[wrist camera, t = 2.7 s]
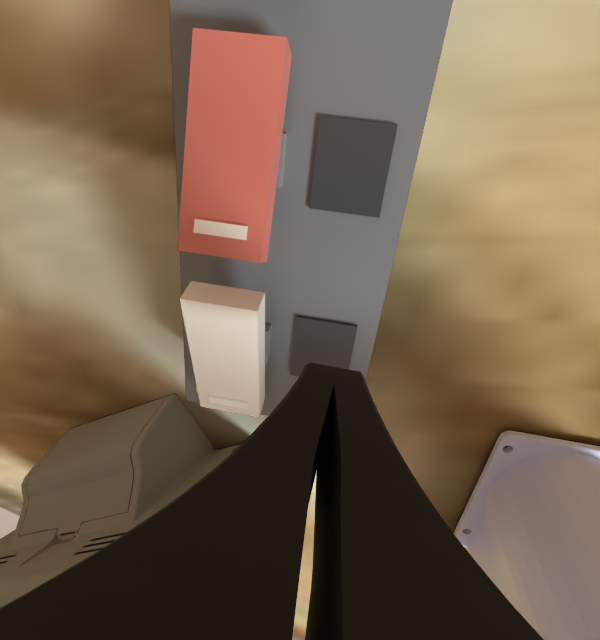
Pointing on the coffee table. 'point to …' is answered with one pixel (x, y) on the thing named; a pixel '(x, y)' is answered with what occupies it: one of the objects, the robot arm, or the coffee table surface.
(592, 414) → the coffee table surface
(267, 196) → the plate
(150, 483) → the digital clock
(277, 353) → the power strip
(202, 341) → the block
